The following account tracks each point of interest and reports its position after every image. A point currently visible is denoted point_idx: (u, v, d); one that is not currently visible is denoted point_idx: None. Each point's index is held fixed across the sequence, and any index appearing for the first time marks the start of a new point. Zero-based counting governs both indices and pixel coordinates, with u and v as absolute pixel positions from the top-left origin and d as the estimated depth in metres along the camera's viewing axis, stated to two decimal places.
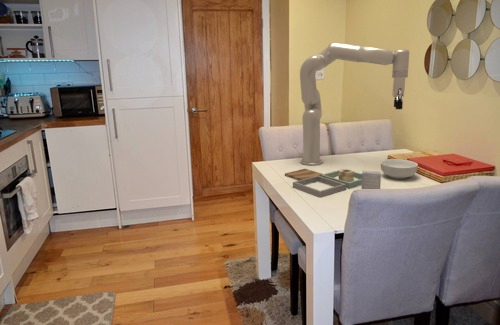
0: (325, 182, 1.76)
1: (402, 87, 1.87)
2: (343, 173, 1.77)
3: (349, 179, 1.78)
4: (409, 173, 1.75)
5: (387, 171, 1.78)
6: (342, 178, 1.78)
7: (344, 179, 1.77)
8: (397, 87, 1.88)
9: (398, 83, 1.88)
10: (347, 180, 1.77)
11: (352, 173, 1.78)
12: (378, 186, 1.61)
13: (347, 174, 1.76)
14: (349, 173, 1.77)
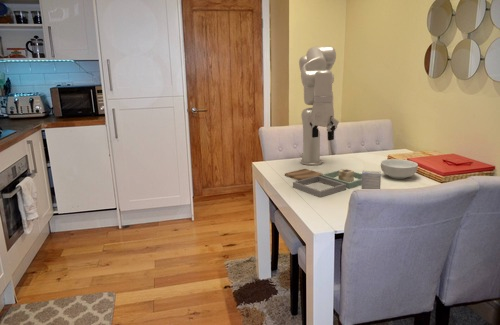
0: (325, 182, 1.76)
1: (333, 114, 1.60)
2: (343, 173, 1.77)
3: (349, 179, 1.78)
4: (409, 173, 1.75)
5: (387, 171, 1.78)
6: (342, 178, 1.78)
7: (344, 179, 1.77)
8: (329, 115, 1.58)
9: (329, 110, 1.58)
10: (347, 180, 1.77)
11: (352, 173, 1.78)
12: (378, 186, 1.61)
13: (347, 174, 1.76)
14: (349, 173, 1.77)
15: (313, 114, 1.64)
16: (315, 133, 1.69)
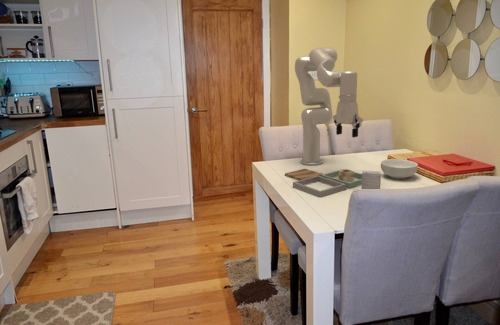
0: (325, 182, 1.76)
1: (357, 112, 1.68)
2: (343, 173, 1.77)
3: (349, 179, 1.78)
4: (409, 173, 1.75)
5: (387, 171, 1.78)
6: (342, 178, 1.78)
7: (344, 179, 1.77)
8: (354, 113, 1.67)
9: (353, 109, 1.67)
10: (347, 180, 1.77)
11: (352, 173, 1.78)
12: (378, 186, 1.61)
13: (347, 174, 1.76)
14: (349, 173, 1.77)
15: (338, 112, 1.73)
16: (339, 130, 1.77)
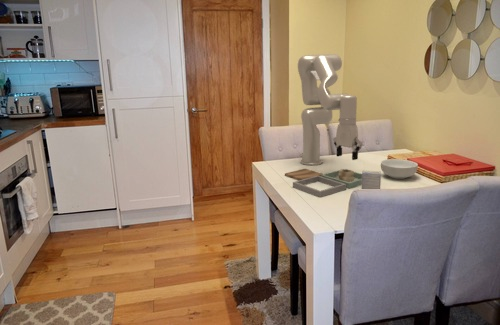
0: (325, 182, 1.76)
1: (357, 136, 1.71)
2: (343, 173, 1.77)
3: (349, 179, 1.78)
4: (409, 173, 1.75)
5: (387, 171, 1.78)
6: (342, 178, 1.78)
7: (344, 179, 1.77)
8: (353, 136, 1.70)
9: (353, 132, 1.70)
10: (347, 180, 1.77)
11: (352, 173, 1.78)
12: (378, 186, 1.61)
13: (347, 174, 1.76)
14: (349, 173, 1.77)
15: (338, 135, 1.76)
16: (339, 152, 1.80)
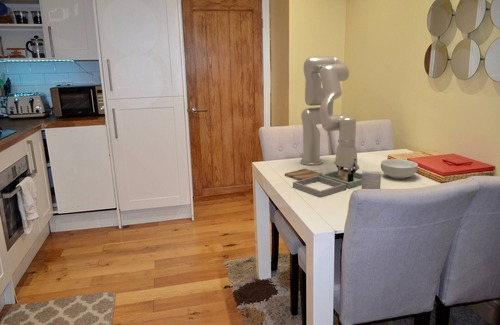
0: (325, 182, 1.76)
1: (356, 157, 1.74)
2: (343, 173, 1.77)
3: None
4: (409, 173, 1.75)
5: (387, 171, 1.78)
6: (342, 178, 1.78)
7: (344, 179, 1.77)
8: (353, 158, 1.72)
9: (352, 154, 1.72)
10: (347, 180, 1.77)
11: None
12: (378, 186, 1.61)
13: (347, 174, 1.76)
14: None
15: (337, 156, 1.78)
16: None
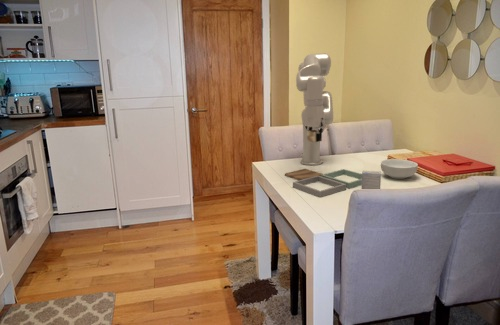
0: (325, 182, 1.76)
1: (323, 116, 1.77)
2: (311, 133, 1.80)
3: None
4: (409, 173, 1.75)
5: (387, 171, 1.78)
6: (310, 138, 1.81)
7: (312, 139, 1.80)
8: (320, 117, 1.75)
9: (320, 113, 1.75)
10: (315, 139, 1.80)
11: None
12: (378, 186, 1.61)
13: (315, 133, 1.79)
14: None
15: (306, 116, 1.81)
16: None
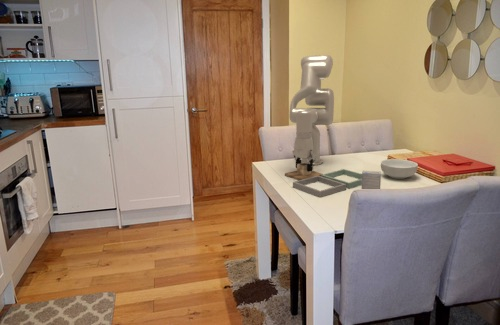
0: (325, 182, 1.76)
1: (312, 148, 1.83)
2: (300, 166, 1.87)
3: (307, 172, 1.87)
4: (409, 173, 1.75)
5: (387, 171, 1.78)
6: (300, 171, 1.88)
7: (301, 172, 1.87)
8: (308, 149, 1.82)
9: (308, 145, 1.82)
10: (304, 173, 1.87)
11: None
12: (378, 186, 1.61)
13: (304, 167, 1.86)
14: (306, 166, 1.86)
15: (295, 147, 1.88)
16: None
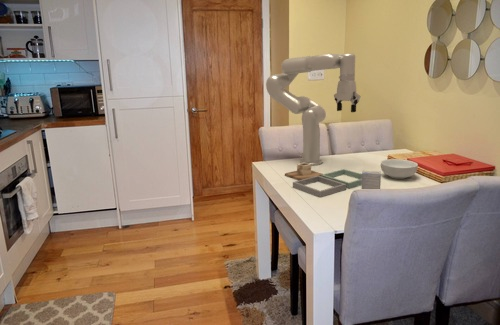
0: (325, 182, 1.76)
1: (355, 90, 1.91)
2: (300, 166, 1.87)
3: (307, 172, 1.87)
4: (409, 173, 1.75)
5: (387, 171, 1.78)
6: (300, 171, 1.88)
7: (301, 172, 1.87)
8: (352, 90, 1.90)
9: (352, 87, 1.90)
10: (304, 173, 1.87)
11: (309, 166, 1.88)
12: (378, 186, 1.61)
13: (304, 167, 1.86)
14: (306, 166, 1.86)
15: (338, 90, 1.96)
16: (339, 107, 2.00)
